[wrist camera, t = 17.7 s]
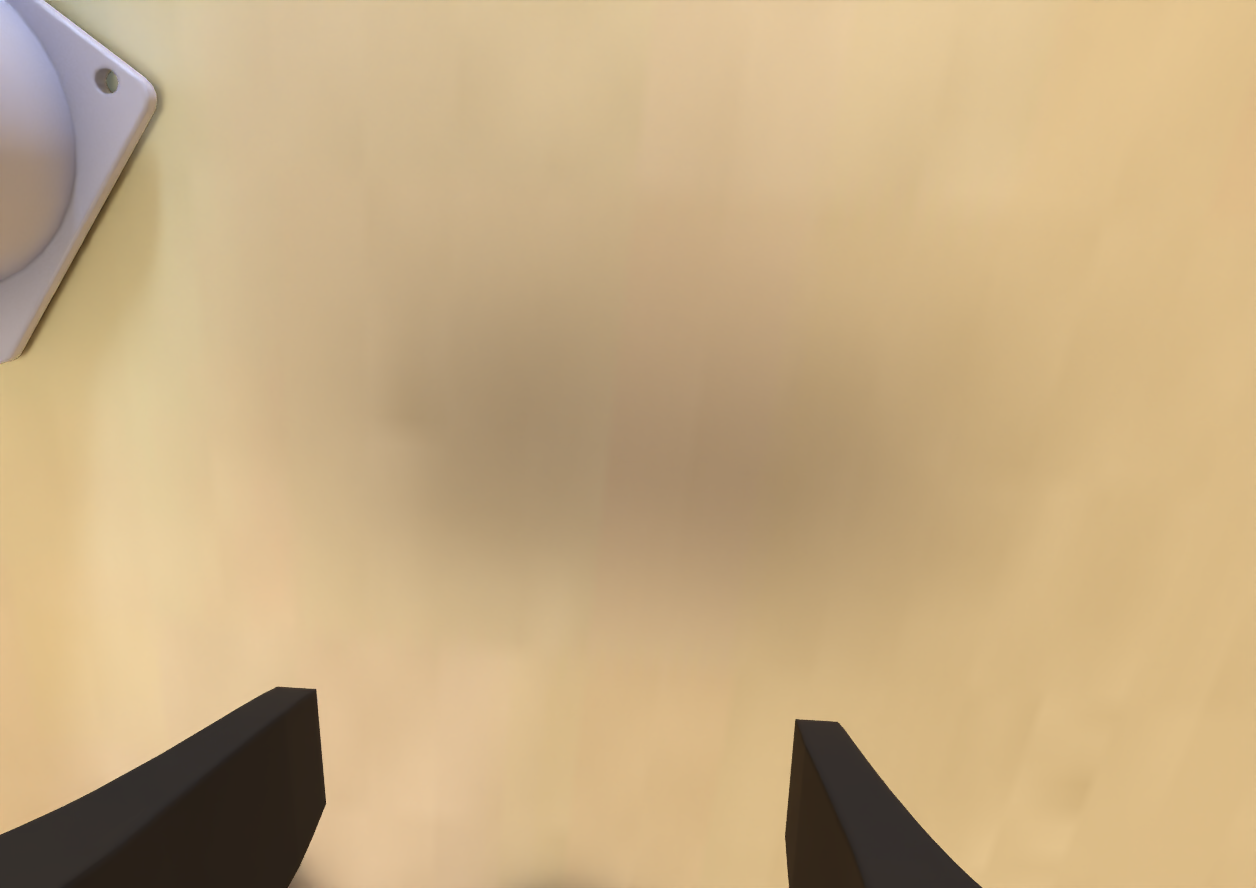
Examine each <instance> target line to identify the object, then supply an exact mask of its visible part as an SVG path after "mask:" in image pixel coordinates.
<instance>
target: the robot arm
mask: <svg viewBox="0 0 1256 888" xmlns="http://www.w3.org/2000/svg"><path fill="white" fill-rule="evenodd" d="M111 71H113V72H114V74H115V75H116V76H117V80H118V86H117V90H116V91H115V92H114V93H112V92H111V91H110V90H109V89H108V87H107V83H106V79H107V75H108V74H109V73H110V72H111ZM156 106H157V95H156V92H155V90H154V88H153V85H152V84H151V83H150V82H149V81H148V80H147V79H146V78H145V77H144V76H142V75H141V74H140V73H139V72H137V71H136V70H135V69H133V68H132V67H131V66H129V65H128V64H127V63H125V62H124V61H123V60H121V59H120V58H119V57H118V56H116V55H115V54H114V53H112V52H111V51H110V50H108V49H107V48H106V47H104V46H103V45H102V44H100V43H99V42H98V41H97V40H95V39H94V38H93V37H91V36H90V35H89V34H87V33H86V32H85V31H83V30H82V29H81V28H80V27H78V26H77V25H76V24H74V23H73V22H72V21H70V20H69V19H68V18H66V17H65V16H64V15H62V14H61V13H60V12H59V11H57V10H56V9H55V8H53V7H52V6H51V5H49V4H48V3H47V2H45V1H44V0H0V364H2V363H5V362H9V361H12V360H15V359H17V358H18V357H19V356H20V355H21V353H22V351H23V349H24V348H25V346H26V344H27V342H28V340H29V339H30V337H31V335H32V333H33V331H34V330H35V328H36V326H37V324H38V322H39V321H40V319H41V317H42V315H43V313H44V311H45V310H46V308H47V306H48V304H49V302H50V301H51V299H52V297H53V295H54V293H55V292H56V290H57V288H58V286H59V284H60V282H61V281H62V279H63V277H64V275H65V273H66V272H67V270H68V268H69V266H70V264H71V263H72V261H73V259H74V257H75V255H76V253H77V252H78V250H79V248H80V246H81V244H82V243H83V241H84V239H85V237H86V235H87V234H88V232H89V230H90V228H91V226H92V224H93V223H94V221H95V219H96V217H97V215H98V214H99V212H100V210H101V208H102V206H103V205H104V203H105V201H106V199H107V197H108V195H109V194H110V192H111V190H112V188H113V186H114V185H115V183H116V181H117V179H118V177H119V176H120V174H121V172H122V170H123V168H124V166H125V165H126V163H127V161H128V159H129V157H130V156H131V154H132V152H133V150H134V148H135V147H136V145H137V143H138V141H139V139H140V137H141V136H142V134H143V132H144V130H145V128H146V127H147V125H148V123H149V121H150V119H151V118H152V116H153V114H154V112H155V109H156ZM325 805H326V797H325V786H324V774H323V763H322V751H321V740H320V728H319V717H318V705H317V694H316V689H305V688H289V687H276V688H274V689H272V690H270V691H268V692H266V693H264V694H262V695H260V696H258V697H257V698H255V699H253V700H251V701H250V702H248V703H246V704H244V705H243V706H241V707H239V708H238V709H236V710H234V711H233V712H231V713H229V714H228V715H226V716H224V717H223V718H221V719H219V720H218V721H216V722H214V723H213V724H211V725H209V726H208V727H206V728H204V729H203V730H201V731H199V732H198V733H196V734H194V735H193V736H191V737H189V738H187V739H186V740H184V741H182V742H181V743H179V744H177V745H176V746H174V747H172V748H171V749H169V750H167V751H166V752H164V753H162V754H160V755H159V756H157V757H155V758H153V759H152V760H150V761H148V762H146V763H144V764H142V765H141V766H139V767H137V768H135V769H133V770H131V771H130V772H128V773H126V774H124V775H122V776H120V777H119V778H117V779H115V780H113V781H111V782H110V783H108V784H106V785H104V786H102V787H100V788H99V789H97V790H95V791H93V792H91V793H89V794H87V795H85V796H83V797H81V798H79V799H77V800H75V801H73V802H71V803H69V804H67V805H65V806H63V807H61V808H59V809H57V810H55V811H53V812H50V813H48V814H46V815H44V816H42V817H39V818H37V819H35V820H33V821H31V822H28V823H26V824H24V825H22V826H20V827H17V828H15V829H13V830H11V831H8V832H6V833H4V834H1V835H0V888H288V886H289V884H290V882H291V881H292V879H293V877H294V875H295V874H296V872H297V870H298V868H299V866H300V864H301V862H302V860H303V858H304V855H305V853H306V851H307V848H308V846H309V844H310V842H311V839H312V837H313V835H314V832H315V830H316V827H317V825H318V822H319V820H320V817H321V815H322V812H323V810H324V807H325ZM785 841H786V854H787V868H788V880H789V888H982V887H981V886H980V885H979V884H977V883H976V882H975V881H974V880H973V879H972V878H971V877H970V876H969V875H968V874H967V873H965V872H964V871H963V870H962V869H961V868H960V867H959V866H958V865H957V864H956V863H955V862H954V861H953V860H952V859H951V858H950V857H949V856H948V855H947V854H946V853H945V852H944V851H943V850H942V848H941V847H940V846H939V845H938V844H937V843H936V842H935V841H934V840H933V839H932V838H931V837H930V836H929V835H928V833H927V832H926V831H925V830H924V829H923V828H922V827H921V826H920V825H919V823H918V822H917V821H916V820H915V819H914V818H913V816H912V815H911V814H910V813H909V812H908V811H907V809H906V808H905V807H904V806H903V805H902V803H901V802H900V801H899V800H898V799H897V797H896V796H895V795H894V794H893V793H892V791H891V790H890V789H889V788H888V786H887V785H886V784H885V783H884V781H883V780H882V779H881V778H880V776H879V775H878V774H877V772H876V771H875V770H874V769H873V767H872V766H871V765H870V763H869V762H868V761H867V759H866V758H865V757H864V755H863V754H862V753H861V751H860V750H859V749H858V747H857V746H856V745H855V743H854V742H853V741H852V739H851V738H850V736H849V735H848V734H847V732H846V731H845V730H844V728H843V727H842V726H841V725H840V724H839V723H838V722H831V721H815V720H799V719H796V720H795V731H794V742H793V753H792V765H791V776H790V787H789V798H788V810H787V821H786V832H785Z"/></svg>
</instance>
